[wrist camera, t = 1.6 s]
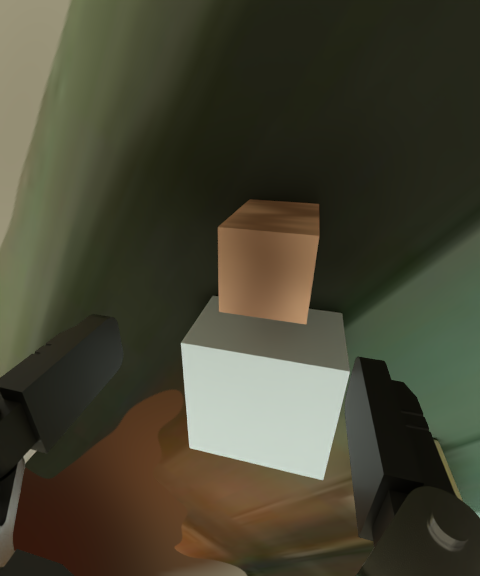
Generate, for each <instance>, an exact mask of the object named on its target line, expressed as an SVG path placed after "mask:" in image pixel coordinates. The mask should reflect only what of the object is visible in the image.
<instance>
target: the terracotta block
mask: <svg viewBox="0 0 480 576" xmlns="http://www.w3.org/2000/svg"><path fill="white" fill-rule="evenodd" d="M318 242H319V204H312V203H297V202H283V201H268V200H253V199H249V200H248V201H247V202H246V203H245V204H244V205H243V206H241V207H240V208H239V209H238V210H237V211H236V212H235V213H233V214H232V215H231V216H230V217H229V218H228V219H227V220H225V221H224V222H223V223H222V224H221V225H220V226H219V227H218V284H219V312H223V313H230V314H237V315H244V316H251V317H258V318H265V319H272V320H279V321H285V322H292V323H299V324H307V317H308V310H309V303H310V296H311V290H312V283H313V276H314V269H315V262H316V256H317V249H318Z"/></svg>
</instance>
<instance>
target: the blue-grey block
mask: <svg viewBox="0 0 480 576" xmlns="http://www.w3.org/2000/svg"><path fill="white" fill-rule="evenodd" d="M181 349H182V362H183V374H184V386H185V398H186V410H187V422H188V435H189V447H190V448H192V449H196V450H200V451H204V452H208V453H213V454H217V455H221V456H225V457H229V458H233V459H237V460H241V461H246V462H250V463H254V464H258V465H262V466H266V467H270V468H275V469H279V470H283V471H287V472H291V473H295V474H299V475H303V476H308V477H312V478H316V479H320V480H323V478H324V474H325V470H326V466H327V462H328V458H329V454H330V450H331V446H332V442H333V438H334V434H335V430H336V426H337V422H338V418H339V414H340V410H341V405H342V401H343V397H344V393H345V389H346V385H347V381H348V377H349V373H350V369H349V361H348V354H347V347H346V339H345V332H344V324H343V317H342V313H337V312H330V311H322V310H315V309H309V310H308V317H307V324H299V323H292V322H285V321H279V320H272V319H265V318H258V317H251V316H244V315H237V314H230V313H223V312H219V297H218V296H212V298H211V299H210V301H209V302H208V304H207V305H206V306H205V308H204V309H203V311H202V312H201V314H200V315H199V317H198V318H197V320H196V321H195V323H194V324H193V326H192V327H191V329H190V330H189V332H188V333H187V335H186V336H185V338H184V339H183V341H182V342H181Z"/></svg>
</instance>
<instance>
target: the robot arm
mask: <svg viewBox="0 0 480 576" xmlns="http://www.w3.org/2000/svg"><path fill="white" fill-rule="evenodd" d="M122 360H123V349H122V344H121V339H120V333H119V328H118V323H117V320H116V319H115V318H113V317H107V316H101V315H95V314H92V315H90V316H88V317H87V318H86V319H84V320H83V321H82V322H80V323H79V324H78V325H76V326H74V327H72V328H70V329H68V330H66V331H64V332H61V333H59V334H58V335H56V336H55V337H54V338H53V339H51V340H50V341H49V342H47V343H46V345H45V346H44V345H43V346H42V347H41V348H39V349H38V350H37V351H35V354H31V355H30V356H29V357H27V358H26V359H25V360H23V361H22V362H21V363H19V364H18V365H17V366H15V367H14V368H13V369H11V370H10V371H9V372H7V373H6V374H5V375H3V376H2V377H1V378H0V576H74V575H73V574H72V573H71V572H69V571H68V570H67V569H66V568H65V567H64V566H63V565H62V564H60V563H57V562H54V561H51V560H47V559H45V558H42V557H39V556H36V555H33V554H30V553H27V552H24V551H21V550H18V549H17V550H16V551H15V552H14V547H13V527H14V522H15V517H16V511H17V505H18V500H19V495H20V490H21V484H22V479H23V473H24V468H25V460H24V458H23V457H24V455H25V454H26V453H27V452H28V451H29V450H30V449H32V450H36V451H39V452H43V453H48V452H49V450H50V449H51V448H52V447H53V446H54V445H55V443H56V442H57V441H58V440H59V439H60V438H61V436H62V435H63V434H64V433H65V432H66V431H67V429H68V428H69V427H70V426H71V425H72V424H73V422H74V421H75V420H76V419H77V418H78V417H79V415H80V414H81V413H82V412H83V411H84V410H85V408H86V407H87V406H88V405H89V404H90V403H91V401H92V400H93V399H94V398H95V397H96V396H97V394H98V393H99V392H100V391H101V390H102V389H103V387H104V386H105V385H106V384H107V383H108V382H109V380H110V379H111V378H112V377H113V376H114V374H115V373H116V372H117V371H118V370H119V368H120V366H121V364H122ZM345 419H346V428H347V437H348V446H349V455H350V464H351V473H352V482H353V491H354V500H355V509H356V518H357V527H358V536H359V537H360V538H364V539H368V540H371V541H374V549H373V551H372V552H371V554H370V555H369V557H368V558H367V560H366V561H365V563H364V565H363V566H362V568H361V569H360V571H359V572H358V574H357V575H356V576H480V518H479V517H478V515H477V514H476V513H475V512H474V511H473V510H472V509H471V508H470V507H469V506H468V505H466V504H465V503H464V502H463V501H461V500H460V499H459V498H457V496H456V494H455V492H454V490H453V487H452V485H451V482H450V480H449V477H448V475H447V472H446V470H445V467H444V465H443V462H442V460H441V457H440V455H439V452H438V449H437V447H436V444H435V442H434V439H433V437H432V434H431V432H429V427H428V424H427V422H426V419H425V417H423V412H422V409H421V407H420V404H419V402H418V399H417V397H416V396H415V395H414V394H413V393H412V391H411V390H410V389H409V388H408V387H407V386H406V385H405V383H404V382H400V381H394V380H391V378H390V374H389V371H388V368H387V365H386V363H385V361H382V360H375V359H369V358H363V357H357V358H356V360H355V363H354V367H353V370H352V374H351V378H350V382H349V386H348V390H347V394H346V400H345Z"/></svg>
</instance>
